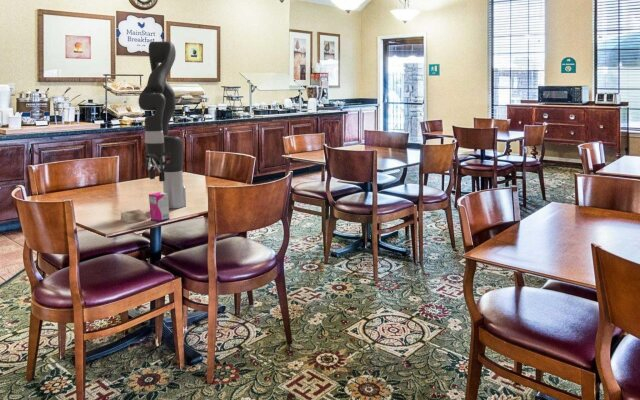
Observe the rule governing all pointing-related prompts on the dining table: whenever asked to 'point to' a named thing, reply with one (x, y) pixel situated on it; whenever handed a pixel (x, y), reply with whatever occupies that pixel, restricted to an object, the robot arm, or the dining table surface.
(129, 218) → the maple block
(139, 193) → the dining table surface
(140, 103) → the robot arm
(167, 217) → the supplement box
